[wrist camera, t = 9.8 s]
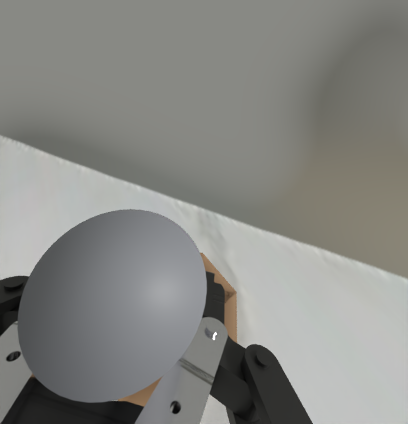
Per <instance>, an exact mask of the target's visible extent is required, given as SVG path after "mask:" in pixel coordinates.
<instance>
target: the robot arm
mask: <svg viewBox="0 0 408 424" xmlns="http://www.w3.org/2000/svg"><path fill="white" fill-rule="evenodd" d="M205 272H206V280H207V294H206V302H205V308H204V312H203V316H202V319H201V322H200V324H199V327H198V330H197V332H196V334H195V336H194V338H193V340H192V341H191V343H190V345H189V346H188V348H187V349H186V351H185V352H184V354H183V355H182V356H181V358H180V359H179V360H178V361H177V362H176V363H175V364H174V366H173V367H172V368H171V369H170V370H168V371H167V372H166V373H165V374H164V375H163V376H162V378H161V380H160V381H159V383H158V385H157V386H156V388H155V390H154V391H153V393H152V395H151V397H150V398H149V400H148V402H147V403H146V405H145V407H144V406H141V405H137V404H134V403H131V402H128V401H107V402H91V403H87V402H81V401H74V400H71V399H68V398H65V397H62V396H59V395H58V394H56V393H54V392H53V391H51V390H49V389H48V388H46V387H45V386H44V385H43V384H42V383H41V382H40V381H39V380H37V378H36V377H35V376H34V374H33V373H32V372H31V370H30V369H29V368H28V365H27V363H26V361H25V359H24V357H23V355H22V351H21V348H20V344H19V338H18V330H17V327H18V312H19V306H20V301H21V297H22V294H23V291H24V288H25V286H26V283H27V281H28V279H29V277H28V276H15V277H9V278H6V279H3V280H0V424H200V421H201V418H202V415H203V412H204V408H205V405H206V402H207V399H208V396H209V394H210V395H211V396H213V397H214V398H215V399H217V400H218V401H219V402H221V403H222V404H223V405H225V406H226V410H227V414H228V418H229V422H230V424H313V423H312V421H311V420H310V418H309V416H308V414H307V412H306V411H305V409H304V407H303V405H302V403H301V402H300V400H299V398H298V396H297V394H296V393H295V391H294V389H293V387H292V385H291V383H290V382H289V380H288V378H287V376H286V374H285V373H284V371H283V369H282V367H281V365H280V364H279V362H278V360H277V359H276V357H275V356H274V354H273V353H272V352H271V351H269V350H268V349H267V348H265V347H263V346H261V345H257V344H253V345H250V346H248V347H247V348H246V349H245V348H244V347H242V346H240V345H239V344H237V343H236V342H234V341H233V340H232V339H231V338H230V337H229V335H228V332H227V329H226V327H225V325H224V319H225V304H224V303H225V290H224V288H223V286H222V284H219V283H215V282H214V276H215V273H212V272H208V271H205Z"/></svg>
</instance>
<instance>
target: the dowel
mask: <svg viewBox="0 0 408 424" xmlns="http://www.w3.org/2000/svg"><path fill="white" fill-rule="evenodd" d="M206 294H207V280H206V272H205V267H204V263H203V260H202V257H201V255H200V252H199V250H198V248H197V246H196V245H195V243H194V241H193V240H192V239H191V237H190V236H189V235H188V234H187V233H186V232H185V231H184V230H183V229H182V228H181V227H180V226H179V225H178V224H176V223H175V222H173V221H172V220H170V219H168V218H166V217H164V216H162V215H159V214H156V213H153V212H150V211H144V210H132V209H130V210H118V211H112V212H108V213H104V214H100V215H98V216H95V217H92V218H90V219H88V220H86V221H84V222H82V223H80V224H78V225H77V226H75V227H74V228H72V229H70V230H69V231H68V232H66V233H65V234H64V235H63V236H61V237H60V238H59V239H58V240H57V241H56V242H55V243H54V244H53V245H52V246H51V247H50V248H49V249H48V250H47V251H46V252H45V254H44V255H43V256H42V257H41V259H40V260H39V262H38V263H37V264H36V266H35V268H34V269H33V271H32V273H31V275H30V276H29V279H28V281H27V283H26V286H25V288H24V291H23V294H22V297H21V301H20V306H19V312H18V327H17V330H18V338H19V344H20V348H21V351H22V355H23V357H24V359H25V361H26V363H27V365H28V368H29V369H30V370H31V372H32V373H33V374H34V376H35V377H36V378H37V380H39V381H40V382H41V383H42V384H43V385H44V386H45V387H46V388H48V389H49V390H51V391H53V392H54V393H56V394H58V395H59V396H62V397H65V398H68V399H71V400H74V401H81V402H87V403H91V402H107V401H112V400H118V399H121V398H124V397H127V396H129V395H132V394H134V393H136V392H138V391H140V390H142V389H144V388H146V387H148V386H149V385H151V384H152V383H154V382H155V381H156V380H158V379H159V378H161V377H162V376H163V375H164V374H165V373H166V372H167V371H168V370H170V369H171V368H172V367H173V366H174V364H175V363H176V362H177V361H178V360H179V359H180V358H181V356H182V355H183V354H184V352H185V351H186V349H187V348H188V346H189V345H190V343H191V341H192V340H193V338H194V336H195V334H196V332H197V330H198V327H199V324H200V322H201V319H202V316H203V312H204V308H205V302H206Z"/></svg>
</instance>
